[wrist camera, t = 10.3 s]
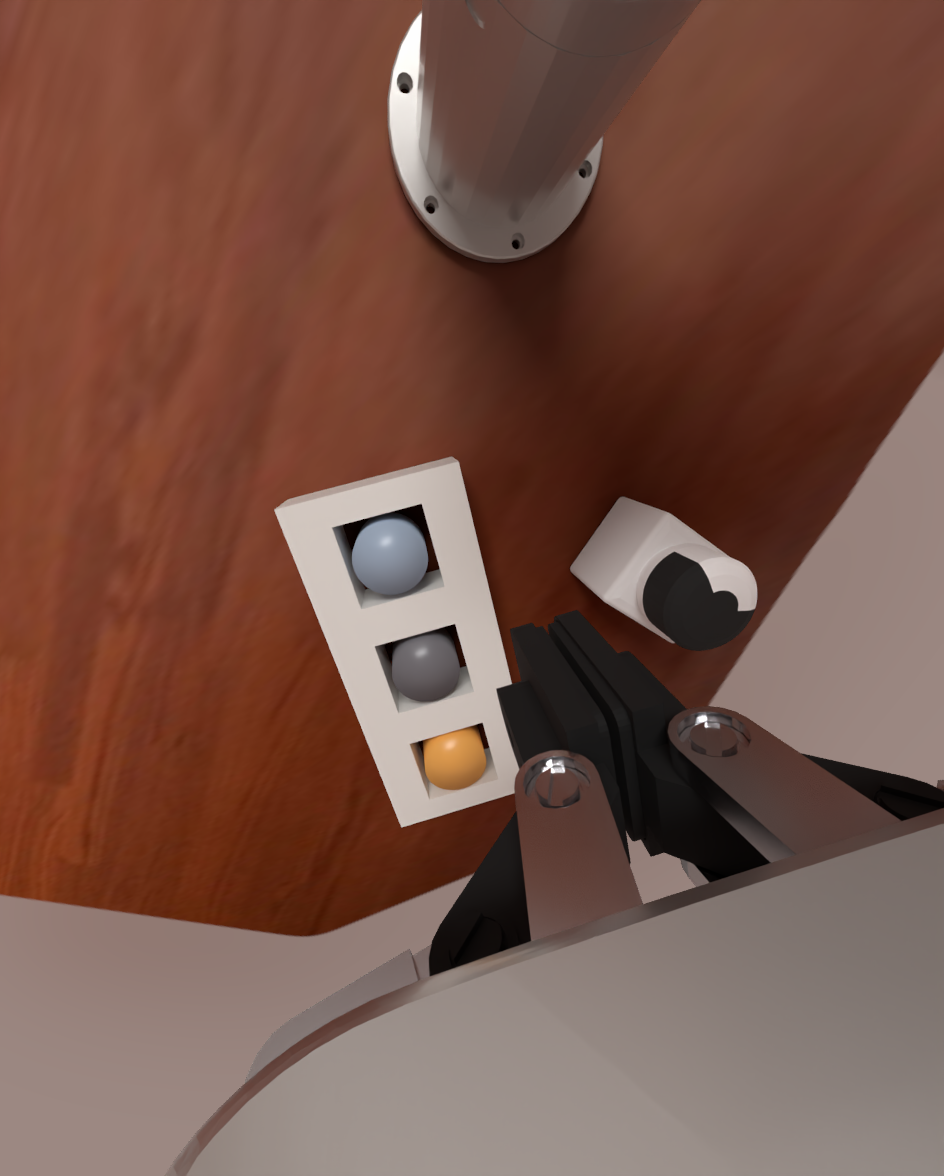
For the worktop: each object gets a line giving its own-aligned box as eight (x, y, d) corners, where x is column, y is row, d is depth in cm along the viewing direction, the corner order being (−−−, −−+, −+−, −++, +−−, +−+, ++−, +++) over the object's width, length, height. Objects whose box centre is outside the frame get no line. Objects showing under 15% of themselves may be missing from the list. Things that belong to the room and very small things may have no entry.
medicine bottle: (630, 608, 40) (719, 682, 29) (566, 569, 38) (636, 632, 27) (682, 539, 39) (798, 589, 28) (619, 494, 36) (717, 528, 25)
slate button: (346, 522, 33) (341, 534, 30) (414, 504, 34) (416, 514, 30) (368, 586, 35) (365, 603, 32) (432, 568, 35) (436, 583, 32)
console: (288, 499, 33) (274, 509, 29) (451, 456, 34) (458, 461, 30) (401, 792, 43) (401, 827, 40) (524, 755, 44) (536, 786, 40)
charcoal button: (384, 631, 37) (383, 653, 33) (446, 614, 37) (450, 633, 34) (402, 684, 38) (403, 709, 35) (461, 667, 39) (466, 690, 35)
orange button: (415, 723, 40) (417, 750, 37) (472, 706, 40) (478, 732, 37) (431, 767, 42) (433, 797, 38) (484, 751, 42) (492, 779, 39)
